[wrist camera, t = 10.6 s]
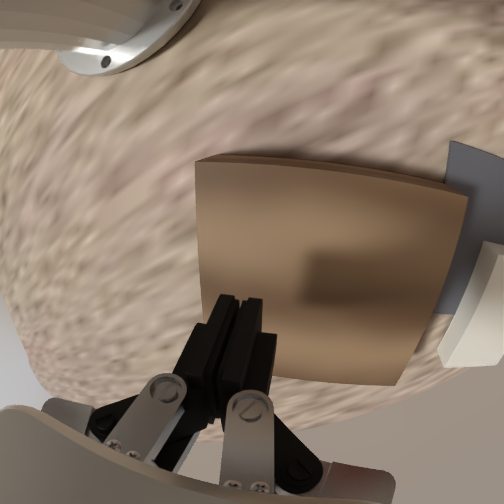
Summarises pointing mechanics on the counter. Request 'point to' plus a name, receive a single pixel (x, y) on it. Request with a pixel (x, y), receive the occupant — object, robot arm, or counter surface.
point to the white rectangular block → (478, 315)
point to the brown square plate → (327, 259)
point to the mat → (472, 216)
